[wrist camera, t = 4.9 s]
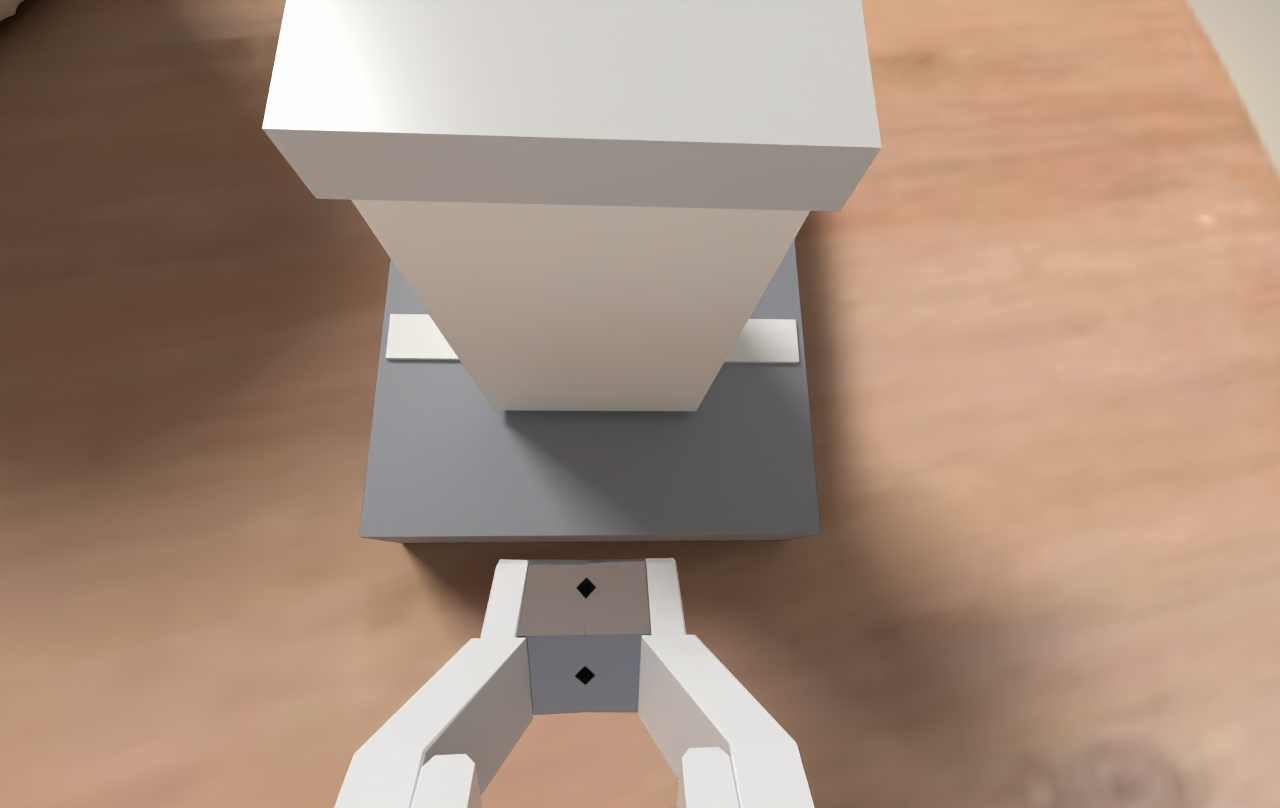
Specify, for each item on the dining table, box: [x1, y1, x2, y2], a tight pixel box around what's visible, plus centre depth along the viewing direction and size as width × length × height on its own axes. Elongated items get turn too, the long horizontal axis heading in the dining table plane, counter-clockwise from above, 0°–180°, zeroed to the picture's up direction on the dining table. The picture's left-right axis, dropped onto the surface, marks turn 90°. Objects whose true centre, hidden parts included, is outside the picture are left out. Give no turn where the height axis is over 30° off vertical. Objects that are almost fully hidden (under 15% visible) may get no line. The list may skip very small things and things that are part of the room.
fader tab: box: [262, 0, 881, 411], centre depth 11 cm, size 4×5×10 cm
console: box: [359, 240, 821, 543], centre depth 19 cm, size 22×11×3 cm, turn 1°
